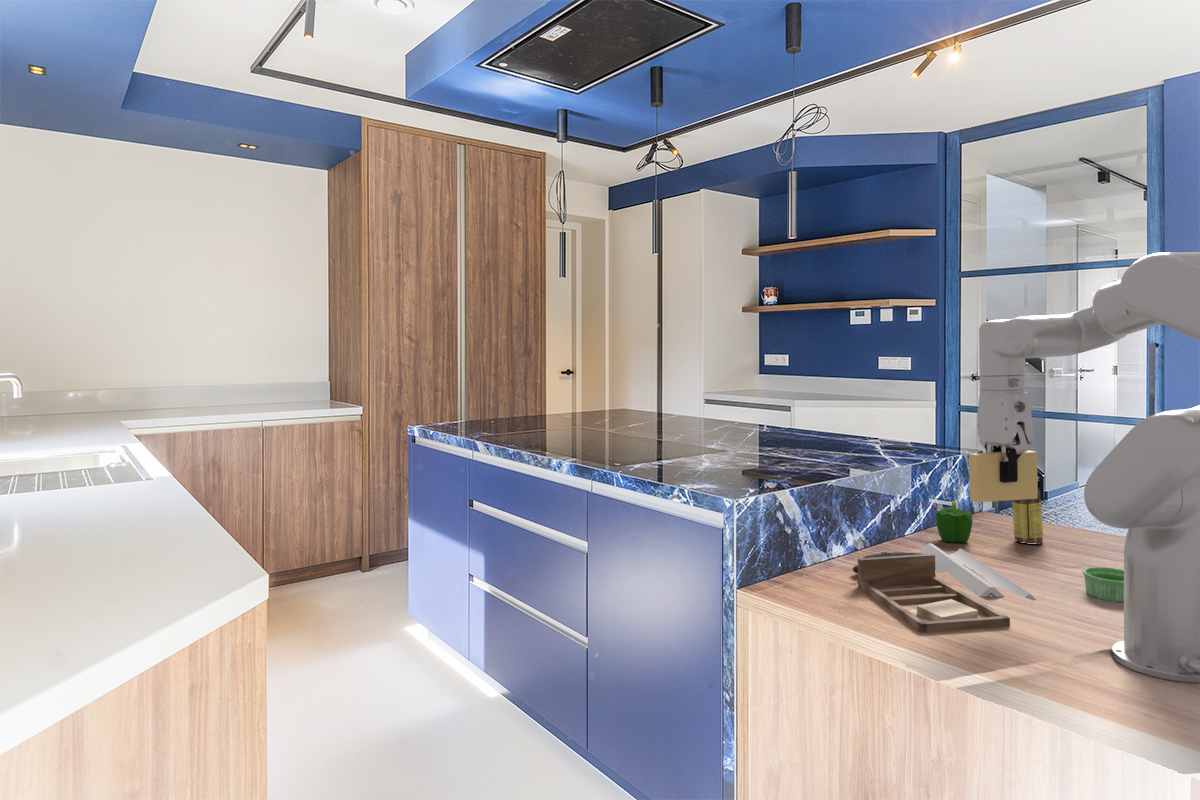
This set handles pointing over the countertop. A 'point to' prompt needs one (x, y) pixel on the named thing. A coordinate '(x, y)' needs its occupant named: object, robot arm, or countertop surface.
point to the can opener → (884, 554)
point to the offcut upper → (946, 611)
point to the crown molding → (968, 577)
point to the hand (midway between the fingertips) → (1003, 479)
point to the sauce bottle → (1028, 520)
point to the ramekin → (1105, 583)
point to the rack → (920, 591)
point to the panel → (988, 478)
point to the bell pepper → (954, 524)
